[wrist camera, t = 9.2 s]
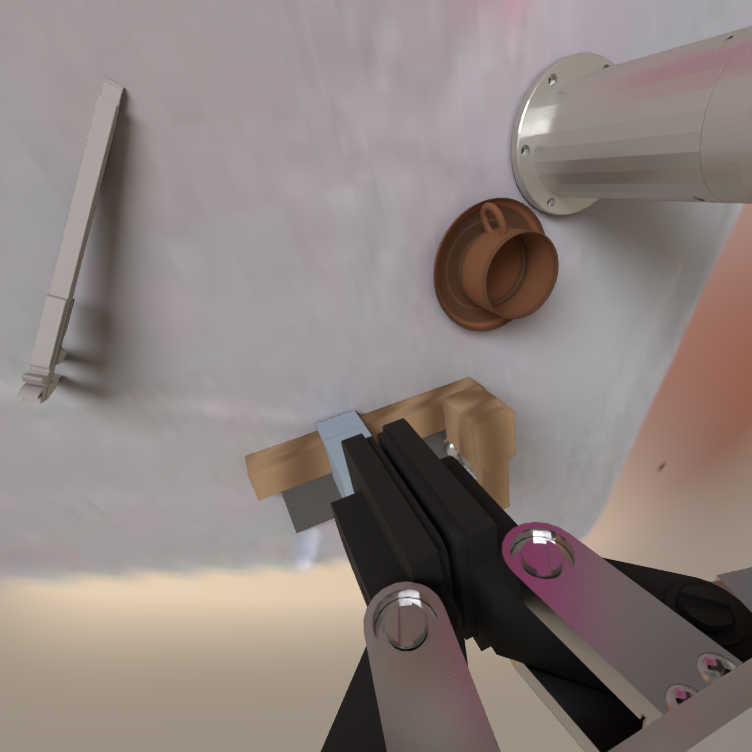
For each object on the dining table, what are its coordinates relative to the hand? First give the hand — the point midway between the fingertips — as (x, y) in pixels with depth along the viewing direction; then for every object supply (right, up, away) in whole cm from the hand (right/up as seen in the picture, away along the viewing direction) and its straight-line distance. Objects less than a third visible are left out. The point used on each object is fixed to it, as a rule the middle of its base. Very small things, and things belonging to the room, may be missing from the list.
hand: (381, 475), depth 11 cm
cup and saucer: (+10, +13, +30) cm, 34 cm away
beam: (0, -5, +34) cm, 34 cm away
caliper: (-20, +12, +19) cm, 30 cm away
